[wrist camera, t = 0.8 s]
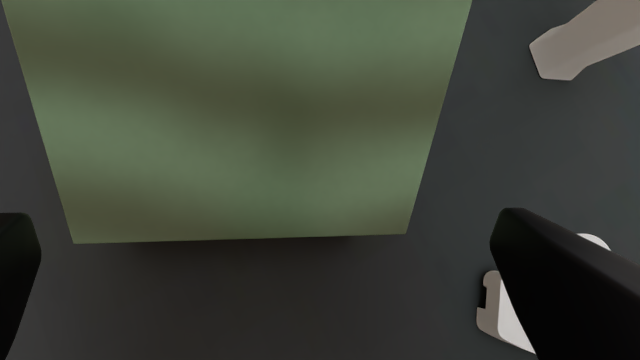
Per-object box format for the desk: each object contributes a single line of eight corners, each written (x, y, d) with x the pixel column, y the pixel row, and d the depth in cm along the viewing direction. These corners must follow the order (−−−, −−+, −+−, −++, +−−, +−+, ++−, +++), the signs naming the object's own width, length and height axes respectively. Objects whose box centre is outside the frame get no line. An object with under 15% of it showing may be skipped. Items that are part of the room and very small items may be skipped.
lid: (-45, -217, 9) (-66, -223, 8) (497, -137, 11) (512, -137, 11) (79, 230, 16) (72, 244, 15) (400, 222, 18) (406, 234, 18)
